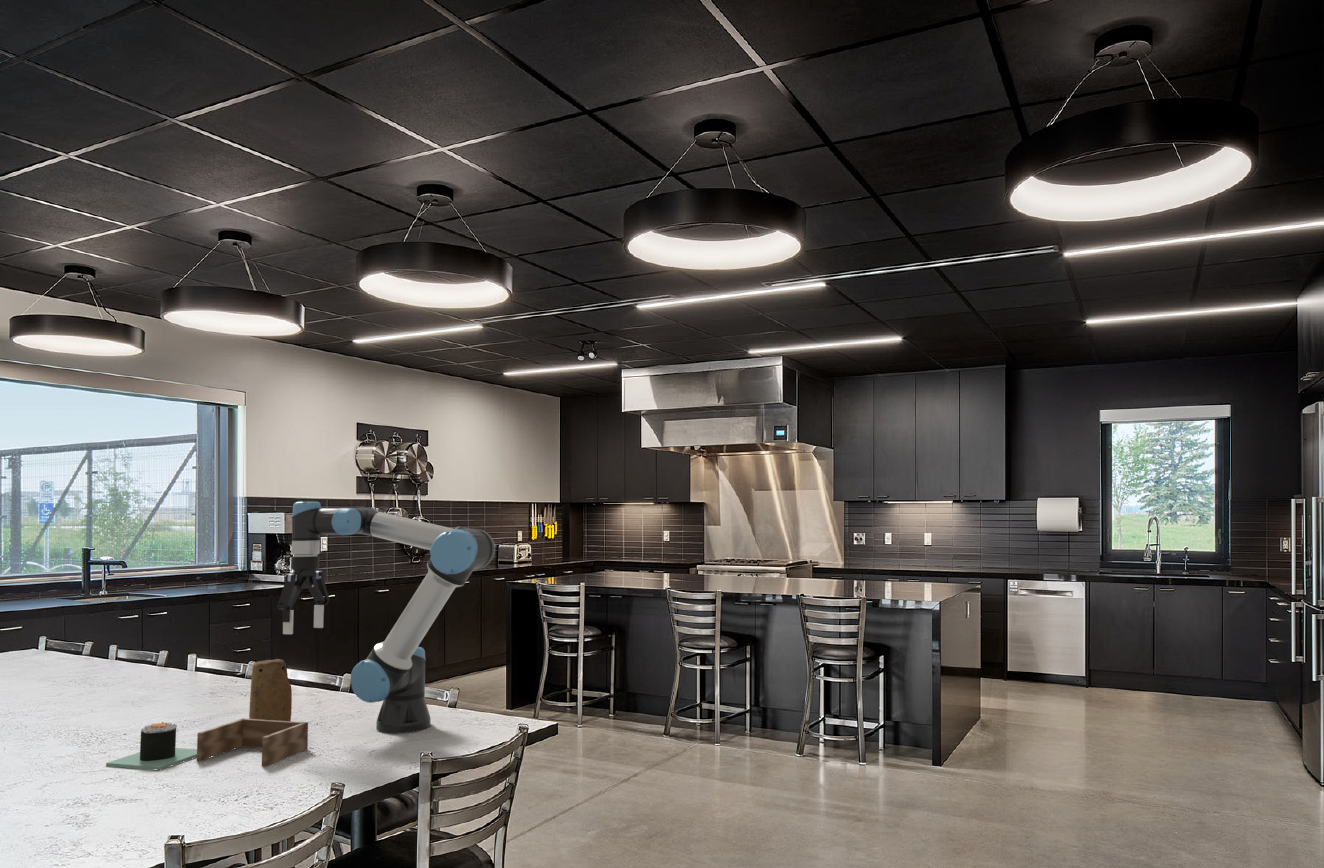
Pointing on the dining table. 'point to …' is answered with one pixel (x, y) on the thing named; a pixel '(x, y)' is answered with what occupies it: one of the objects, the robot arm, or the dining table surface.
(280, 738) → the frame
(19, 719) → the dining table surface
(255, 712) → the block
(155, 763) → the mat
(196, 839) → the dining table surface
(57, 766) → the dining table surface
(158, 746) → the sushi
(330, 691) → the dining table surface
